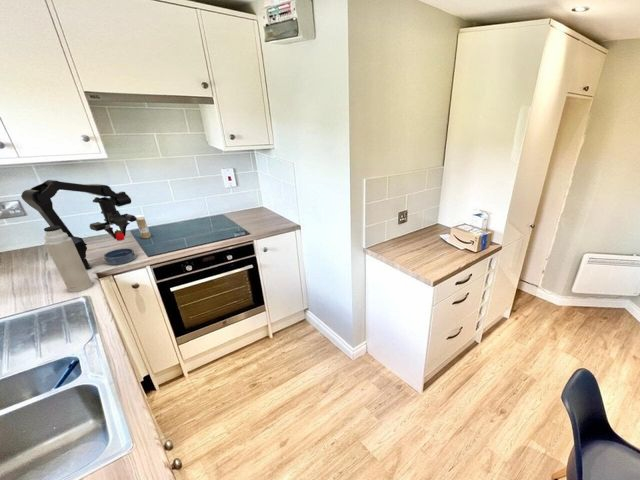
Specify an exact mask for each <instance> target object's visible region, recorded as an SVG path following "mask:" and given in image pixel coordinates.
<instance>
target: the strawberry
mask: <svg viewBox="0 0 640 480" xmlns="http://www.w3.org/2000/svg"><path fill="white" fill-rule="evenodd" d="M114 234H115V236H116V239H115V240H116V241H117V242H121V241H124V240H125V236H124V234H123V233H122V232H121V230H120V229H119V230H118V229H116V230H115V231H114Z"/></svg>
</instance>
